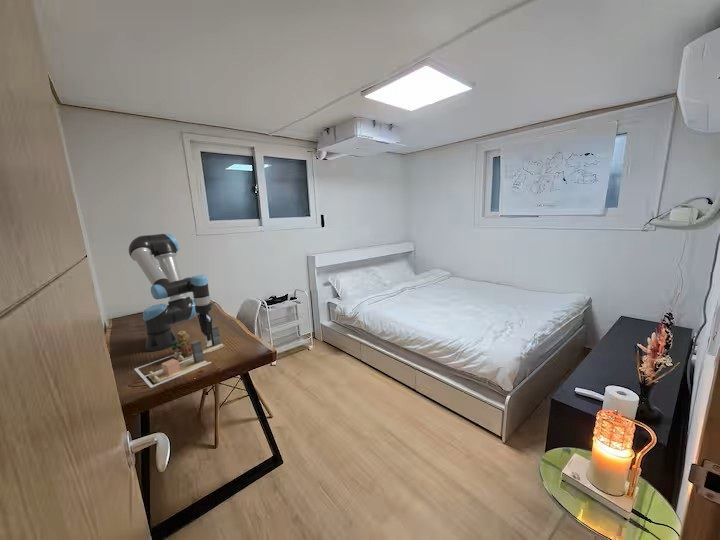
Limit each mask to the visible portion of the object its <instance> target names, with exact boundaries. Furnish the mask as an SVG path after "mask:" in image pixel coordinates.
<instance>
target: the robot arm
mask: <svg viewBox="0 0 720 540" xmlns="http://www.w3.org/2000/svg"><path fill="white" fill-rule="evenodd" d="M179 250H180V248H179V243H178V240H177V239H176V237H175V236H174V235H173V234H171V233H159V234H149V235H140V236H137V237H135V238H134V239H133V240H132V241H131V242H130V244H129V246H128V253H129V254H128V255H129V257H130V258H131V259H132V261H134V262H136V263H137V265H138V266H139V267H140V269H141V270H142V272H143V274H144V275H145V276H146V278H147V280H148V281H149V283H150V284H151V285H152V286H151V287H150V293H151V296H152V297H153V299H154V300H162V299H167V298H169V299H168V301H167V304H166V303H159V304H155V305H154V304H153V305H152V306H149V307H147V308H145V309H144V310H143V312H142V319H143V322H144V326H145V332H146V341H145V349H146V351H148V352H157V351H161V350H165V349H168V348H170V347H171V348H172V346H171V345H170V344H171V343H176V342H178V340H177V337H176V336H177V335H176V334H175V333H174V332H173V329H172V326H171V325H174V324H177V323H181V322H184V321H185V322H186V321H189V320H190V319H193V318H195V317H196V315H197V318H198V321H199V327H200V330H201V333H202V334H203V339H204V345H205V346H207V347H208V346H211V345H212V340H211V334H212V327H213V322H212V321H213V317H211V315H210V311H211V310H212V304H211V297H210V290H209V282H208V278H207V275H205V274H199V275H192V276H191V277H189V276H188V277H185V278H182V275H181V273H180V269H179V267H178V263H177V259H176V256H177V255H178V253H177V252H179ZM157 261H158V263H157ZM187 293H192V297H193V298H191V297H190V295H188V294H187Z"/></svg>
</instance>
